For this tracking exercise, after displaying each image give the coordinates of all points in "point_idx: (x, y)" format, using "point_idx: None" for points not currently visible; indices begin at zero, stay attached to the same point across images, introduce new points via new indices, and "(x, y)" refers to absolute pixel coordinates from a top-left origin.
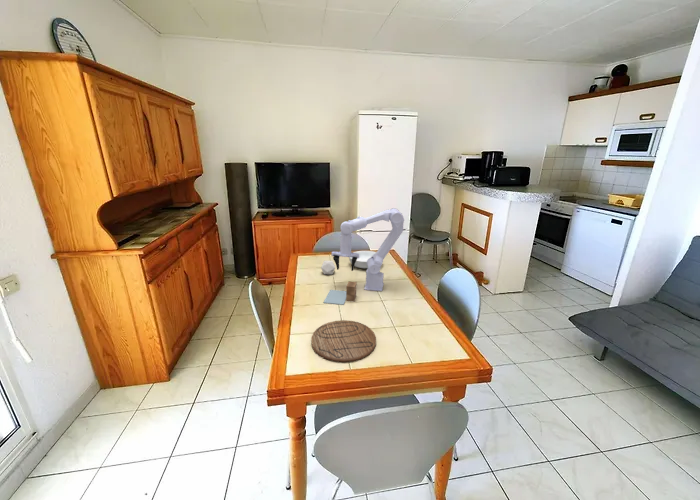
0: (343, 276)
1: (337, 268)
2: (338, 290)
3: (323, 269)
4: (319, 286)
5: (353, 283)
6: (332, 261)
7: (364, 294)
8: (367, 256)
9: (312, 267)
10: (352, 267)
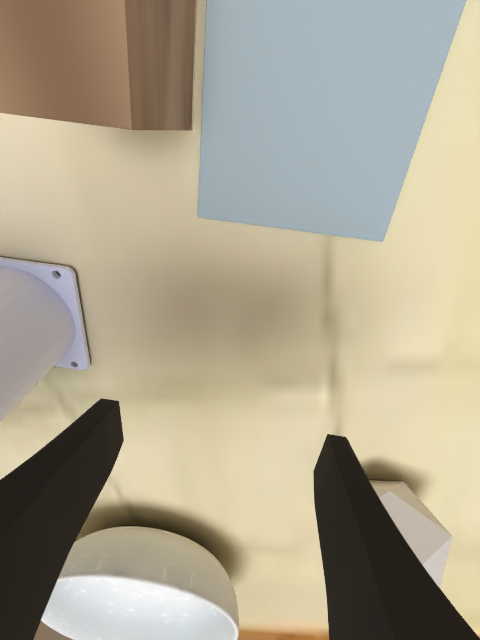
0: (266, 456)
1: (345, 451)
2: (300, 230)
3: (427, 516)
4: (474, 314)
5: (10, 13)
6: None
7: (47, 173)
8: (146, 612)
9: (466, 550)
10: (61, 444)
